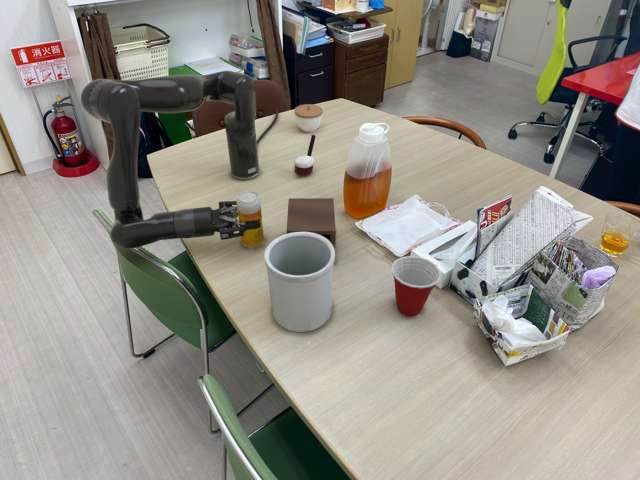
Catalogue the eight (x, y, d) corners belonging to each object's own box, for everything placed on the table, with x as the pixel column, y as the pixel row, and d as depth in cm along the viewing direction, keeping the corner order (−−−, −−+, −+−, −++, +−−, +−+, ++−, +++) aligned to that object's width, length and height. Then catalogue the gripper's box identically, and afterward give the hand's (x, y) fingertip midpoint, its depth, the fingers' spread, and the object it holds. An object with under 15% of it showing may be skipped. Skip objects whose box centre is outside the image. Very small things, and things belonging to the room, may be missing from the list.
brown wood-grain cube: (290, 230, 130) (288, 198, 123) (332, 230, 130) (333, 198, 123) (288, 264, 119) (286, 230, 112) (334, 263, 119) (335, 230, 112)
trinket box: (312, 137, 174) (312, 114, 168) (289, 130, 178) (288, 107, 172) (327, 127, 181) (328, 104, 175) (305, 120, 185) (304, 97, 179)
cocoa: (296, 181, 150) (295, 148, 142) (288, 172, 154) (287, 139, 147) (322, 173, 154) (322, 141, 146) (313, 165, 158) (313, 133, 150)
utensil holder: (257, 304, 108) (251, 247, 97) (309, 278, 115) (308, 222, 104) (292, 345, 99) (289, 288, 88) (346, 314, 106) (349, 257, 95)
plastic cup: (435, 296, 111) (444, 259, 103) (428, 329, 103) (437, 292, 95) (391, 285, 113) (396, 248, 106) (381, 317, 105) (386, 279, 98)
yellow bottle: (260, 250, 123) (255, 204, 114) (238, 247, 124) (232, 201, 115) (266, 236, 128) (263, 191, 118) (245, 233, 129) (240, 188, 119)
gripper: (191, 228, 111) (261, 220, 113) (192, 195, 121) (256, 189, 124) (196, 251, 115) (263, 244, 118) (197, 218, 126) (258, 211, 129)
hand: (259, 216), depth 121 cm, fingers closed on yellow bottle, 6 cm apart
